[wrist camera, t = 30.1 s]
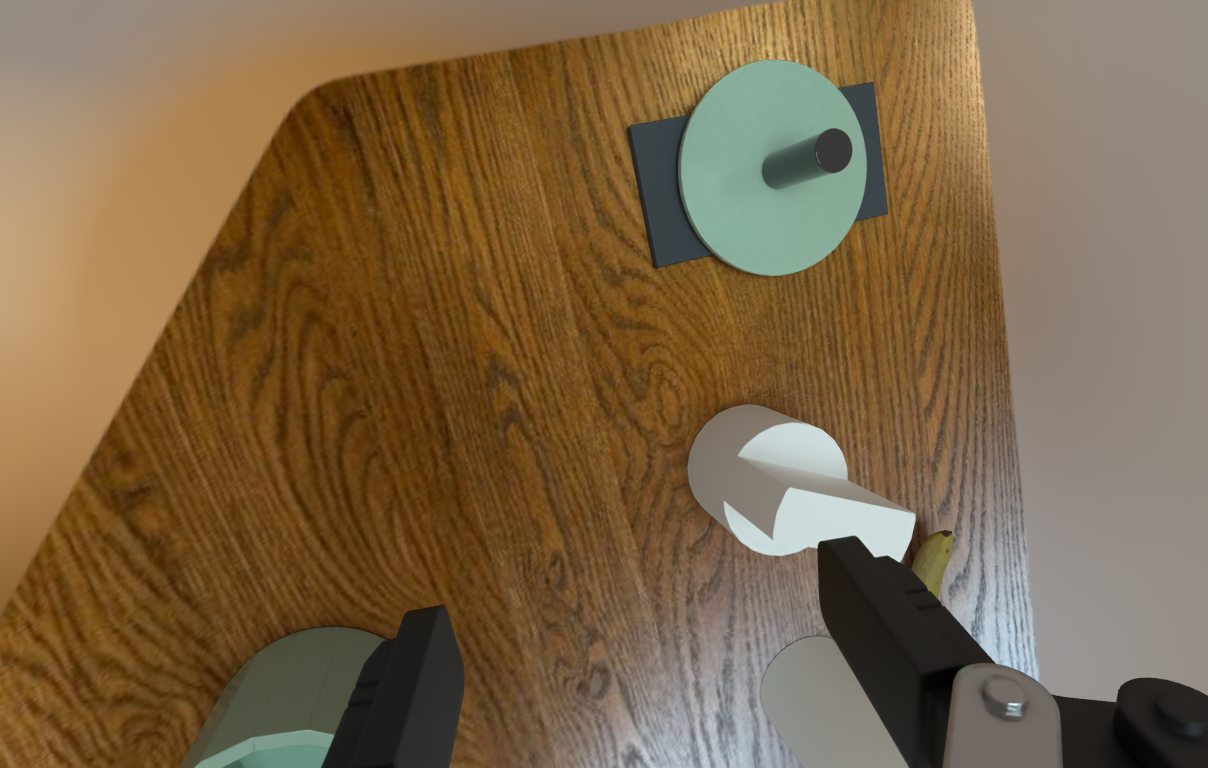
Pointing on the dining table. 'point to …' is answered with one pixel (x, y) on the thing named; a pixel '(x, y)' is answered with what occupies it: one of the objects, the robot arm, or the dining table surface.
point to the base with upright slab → (787, 486)
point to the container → (825, 709)
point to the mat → (661, 190)
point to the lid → (772, 168)
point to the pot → (284, 702)
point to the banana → (933, 560)
